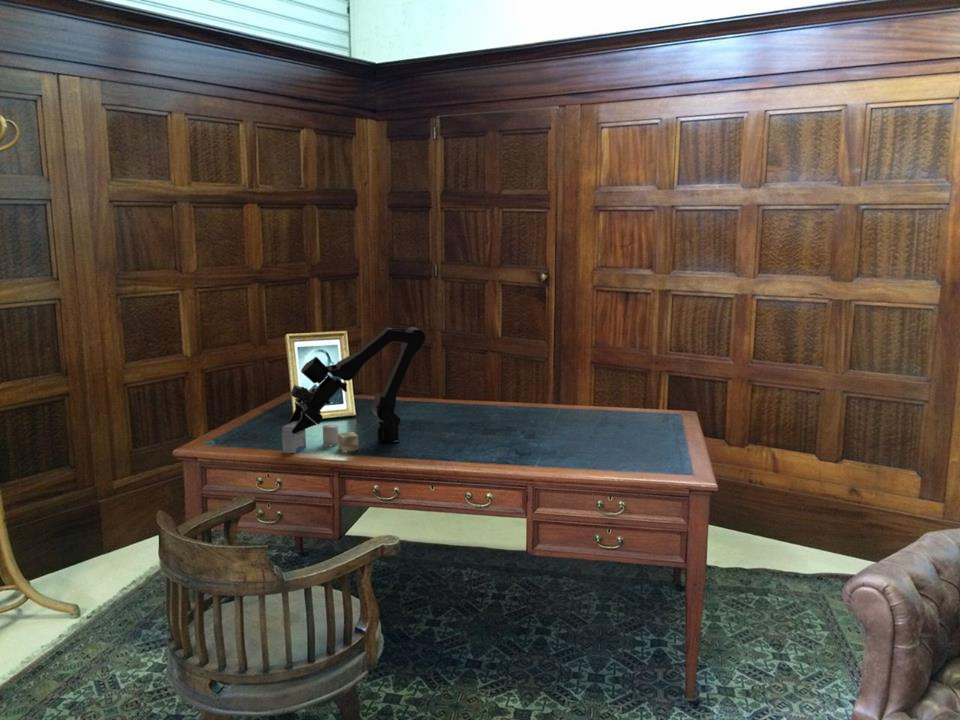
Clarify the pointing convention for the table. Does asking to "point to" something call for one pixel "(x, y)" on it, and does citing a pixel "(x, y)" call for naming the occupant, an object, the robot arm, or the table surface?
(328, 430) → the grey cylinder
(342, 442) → the beech cube
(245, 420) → the table surface
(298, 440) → the medicine box
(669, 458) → the table surface
